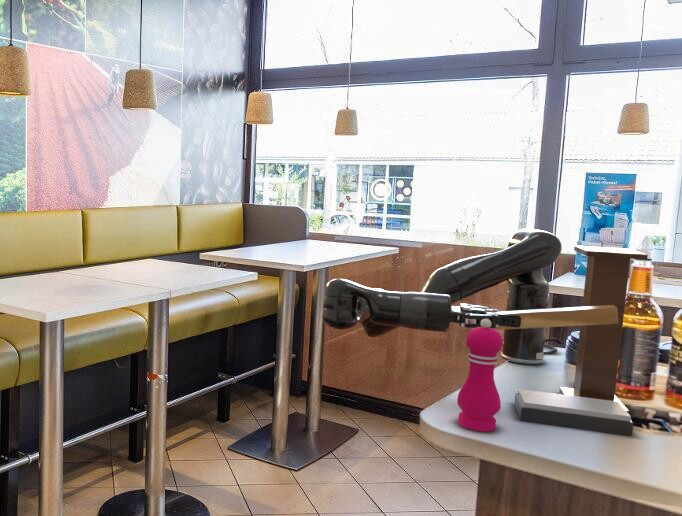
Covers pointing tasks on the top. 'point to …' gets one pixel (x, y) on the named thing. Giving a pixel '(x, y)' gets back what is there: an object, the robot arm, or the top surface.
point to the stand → (602, 340)
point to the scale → (573, 412)
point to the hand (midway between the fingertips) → (519, 319)
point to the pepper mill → (480, 380)
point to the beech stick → (564, 317)
